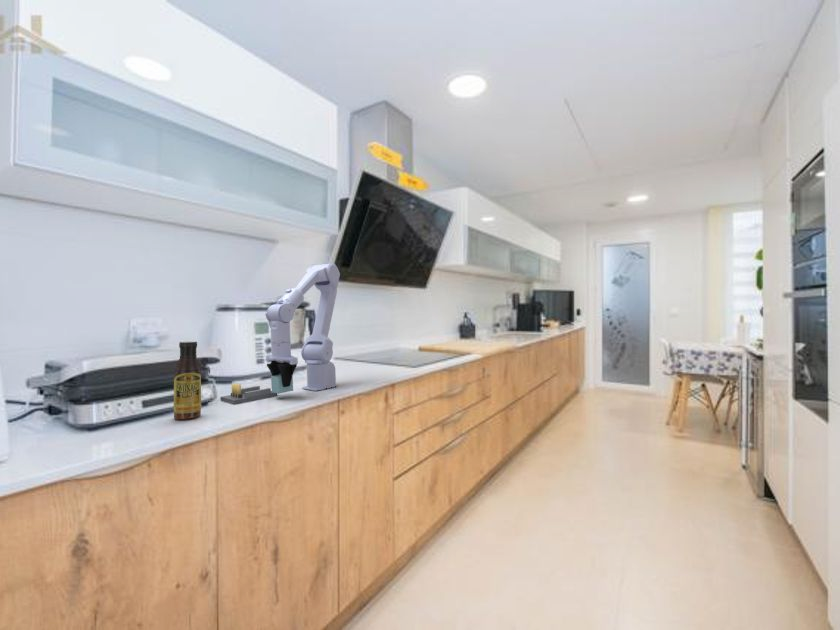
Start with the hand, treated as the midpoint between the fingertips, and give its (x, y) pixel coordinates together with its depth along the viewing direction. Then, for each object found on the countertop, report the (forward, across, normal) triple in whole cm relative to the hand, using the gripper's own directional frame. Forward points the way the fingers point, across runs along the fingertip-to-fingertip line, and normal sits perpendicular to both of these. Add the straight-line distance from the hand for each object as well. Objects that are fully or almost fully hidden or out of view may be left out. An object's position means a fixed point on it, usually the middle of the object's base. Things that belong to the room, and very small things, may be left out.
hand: (282, 385), depth 125 cm
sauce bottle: (+4, 0, -27) cm, 27 cm away
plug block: (+2, 0, 0) cm, 2 cm away
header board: (+4, -9, -6) cm, 12 cm away
